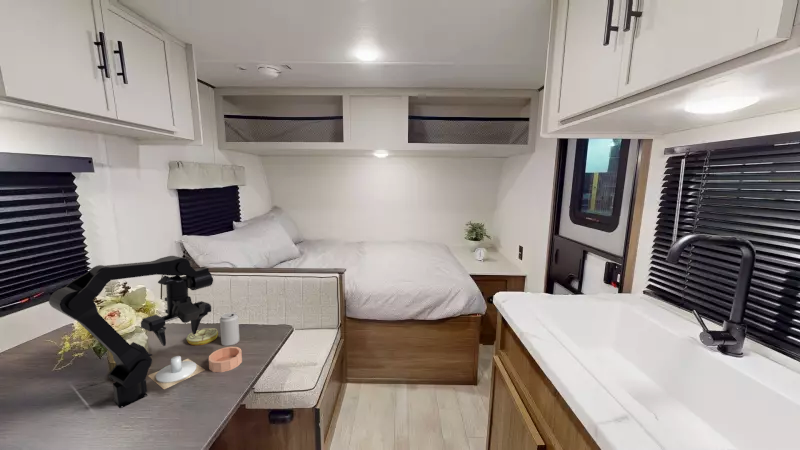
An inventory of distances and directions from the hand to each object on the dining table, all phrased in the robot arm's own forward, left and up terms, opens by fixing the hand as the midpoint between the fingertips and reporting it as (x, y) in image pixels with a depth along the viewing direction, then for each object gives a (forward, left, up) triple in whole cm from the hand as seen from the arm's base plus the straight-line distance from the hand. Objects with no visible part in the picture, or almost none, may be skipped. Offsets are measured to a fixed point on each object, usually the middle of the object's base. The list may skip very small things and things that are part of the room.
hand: (179, 339), depth 103 cm
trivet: (-1, 0, -12) cm, 12 cm away
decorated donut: (+15, +16, -12) cm, 25 cm away
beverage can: (+20, +5, -12) cm, 24 cm away
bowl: (+11, -8, -12) cm, 18 cm away
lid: (-1, 0, -11) cm, 11 cm away
